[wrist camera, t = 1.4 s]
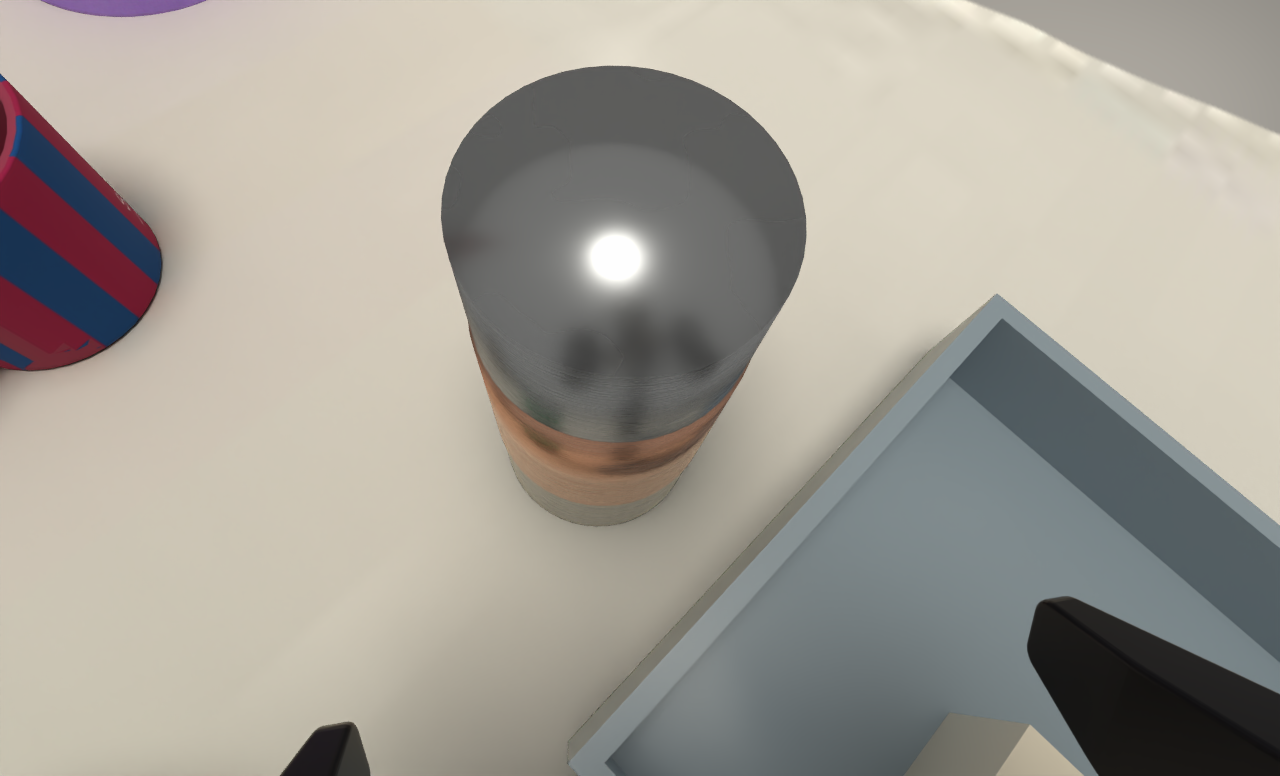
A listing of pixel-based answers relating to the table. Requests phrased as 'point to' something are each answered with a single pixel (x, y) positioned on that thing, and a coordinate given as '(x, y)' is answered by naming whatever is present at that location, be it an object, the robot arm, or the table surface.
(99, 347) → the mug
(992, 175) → the table surface
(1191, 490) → the tote
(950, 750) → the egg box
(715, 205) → the tin
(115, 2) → the masking tape
